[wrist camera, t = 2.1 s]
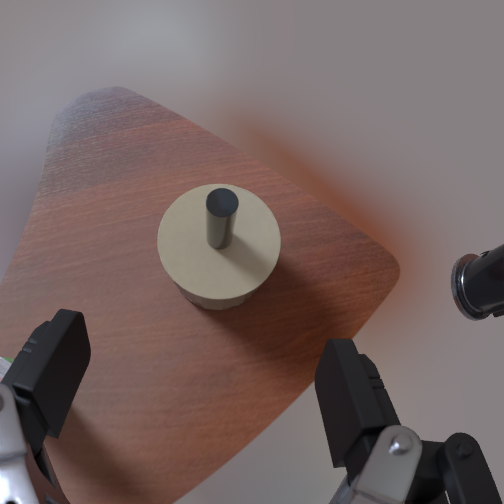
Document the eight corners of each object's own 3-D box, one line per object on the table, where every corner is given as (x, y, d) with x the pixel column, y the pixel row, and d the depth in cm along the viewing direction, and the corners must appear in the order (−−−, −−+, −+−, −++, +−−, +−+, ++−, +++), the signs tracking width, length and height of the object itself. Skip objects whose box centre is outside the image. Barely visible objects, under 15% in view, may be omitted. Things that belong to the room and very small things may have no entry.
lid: (280, 195, 36) (299, 149, 27) (276, 306, 32) (299, 287, 23) (169, 184, 34) (160, 135, 26) (150, 294, 30) (130, 270, 22)
